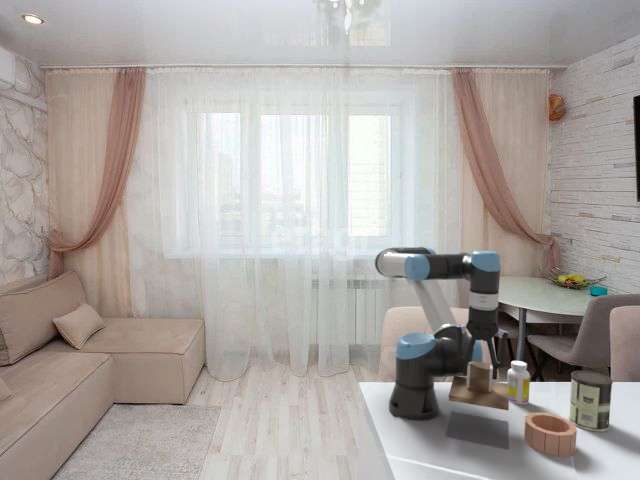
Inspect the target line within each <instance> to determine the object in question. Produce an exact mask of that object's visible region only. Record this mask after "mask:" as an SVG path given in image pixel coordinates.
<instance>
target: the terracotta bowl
mask: <svg viewBox="0 0 640 480" xmlns="http://www.w3.org/2000/svg"><path fill="white" fill-rule="evenodd" d="M576 427H577V426H576V425H574V424H573V423H571V422H570V420H569V419H566V418H565V417H562V416H559V415H556V414H553V413H548V412H530V413H528V414H527V415H525V416H524V430H523V431H524V433H523V437H524V438H523V439H524V442H525V443H526V444H527V445H529V447H531V448H533V449H535V450H537V451H539V452H541V453H543V454H547V455H551V456H557V457H558V456H559V457H562V456H563V457H565V456H566V457H567V456H570V457H572V456H573V455H575V454H576V448H577V447H576V445H577V436H578V435H577V434H578V431H577V428H576Z"/></svg>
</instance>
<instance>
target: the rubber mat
mask: <svg viewBox="0 0 640 480" xmlns="http://www.w3.org/2000/svg"><path fill="white" fill-rule="evenodd" d="M444 437H445V438H449V439H454V440H460V441H465V442H469V443H474V444H480V445H485V446H489V447H492V448H499V449H504V450H508V451H509V450H510V447H509V446H510V443H509V442H510V441H509V421H507V420H502V419H497V418H492V417H487V416H480V415H476V414H470V413H463V412H458V411H453V410H451V411H450V417H449V419H448V424H447V427H446V433H445V436H444Z"/></svg>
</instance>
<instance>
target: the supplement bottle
mask: <svg viewBox="0 0 640 480" xmlns="http://www.w3.org/2000/svg"><path fill="white" fill-rule="evenodd" d="M510 366H511V368H509V369H508V370H507V374H506V375H507V380H506V384H508V401H509V402H510V403H512V404H516V405H517V404H518V405H528V404H529V401H530V381H531V375H530V373H529V371H528V370H527V368H528V363H527V362H524V361H523V360H522V361H521V360H512V361H511V363H510Z"/></svg>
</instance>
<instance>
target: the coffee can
mask: <svg viewBox="0 0 640 480" xmlns="http://www.w3.org/2000/svg"><path fill="white" fill-rule="evenodd" d="M570 375H571V380H570V381H571V385H570V401H569V402H570V403H569V416H568V420H569V421H570V422H571V423H573V424H574V425H575V427H577V428H580V429H584V430H586V431H590V432H599V433H602V432H607V431H608V430H609V429H610V414H611V413H610V412H611V403H612V399H611V398H612V386H613V381H614V380H613V379H612V378H611V377H609V376H608V375H605V374H602V373H600V372H595V371H590V370H575V371H572V372H571V374H570Z"/></svg>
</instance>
